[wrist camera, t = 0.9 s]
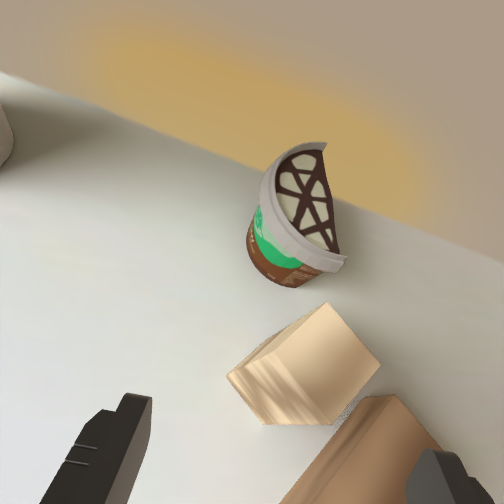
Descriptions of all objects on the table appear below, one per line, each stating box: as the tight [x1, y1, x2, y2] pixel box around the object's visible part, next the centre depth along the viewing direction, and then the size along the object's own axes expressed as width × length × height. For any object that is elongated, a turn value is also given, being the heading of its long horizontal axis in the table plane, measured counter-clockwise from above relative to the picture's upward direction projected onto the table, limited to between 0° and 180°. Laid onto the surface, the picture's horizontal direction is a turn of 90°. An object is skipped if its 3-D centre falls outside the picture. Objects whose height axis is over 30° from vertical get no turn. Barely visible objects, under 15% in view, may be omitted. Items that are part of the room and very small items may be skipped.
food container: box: [246, 142, 348, 288], centre depth 33 cm, size 12×6×10 cm, turn 3°
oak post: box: [226, 302, 381, 425], centre depth 26 cm, size 5×5×12 cm
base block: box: [279, 394, 443, 504], centre depth 28 cm, size 9×13×5 cm
